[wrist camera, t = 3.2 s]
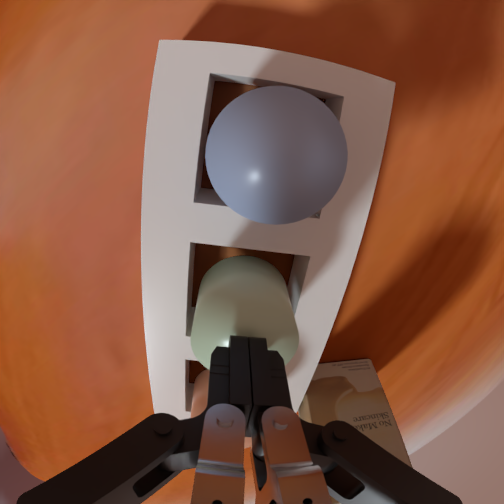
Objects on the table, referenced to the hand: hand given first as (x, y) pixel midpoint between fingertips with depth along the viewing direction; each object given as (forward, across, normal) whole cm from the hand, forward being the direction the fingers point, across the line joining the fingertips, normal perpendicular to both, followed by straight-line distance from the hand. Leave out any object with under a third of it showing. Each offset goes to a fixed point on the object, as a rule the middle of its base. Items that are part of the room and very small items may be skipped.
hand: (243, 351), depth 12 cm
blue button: (+5, 0, -8) cm, 9 cm away
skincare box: (+7, -9, +9) cm, 15 cm away
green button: (+5, 0, 0) cm, 5 cm away
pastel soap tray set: (+7, 0, 0) cm, 7 cm away
